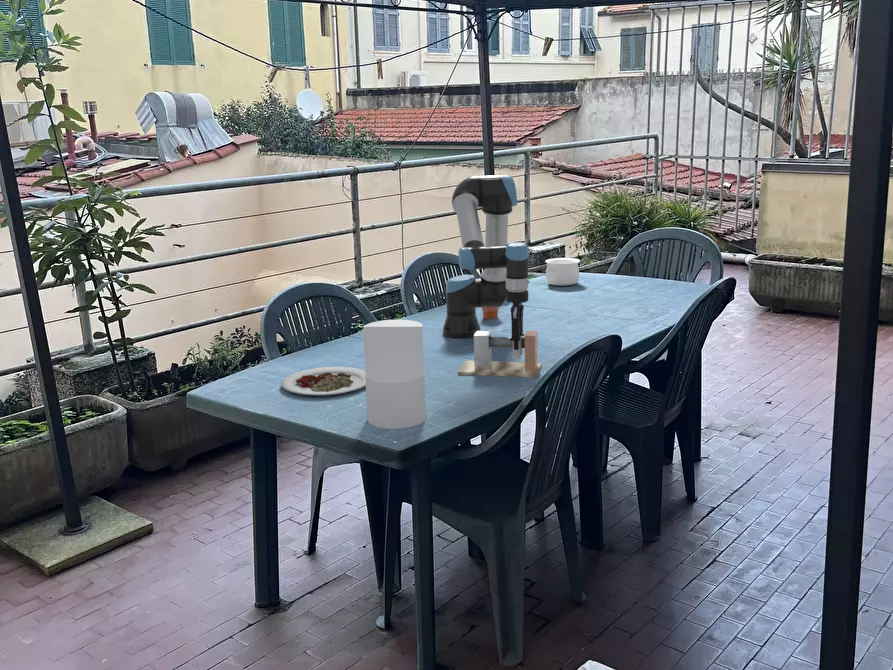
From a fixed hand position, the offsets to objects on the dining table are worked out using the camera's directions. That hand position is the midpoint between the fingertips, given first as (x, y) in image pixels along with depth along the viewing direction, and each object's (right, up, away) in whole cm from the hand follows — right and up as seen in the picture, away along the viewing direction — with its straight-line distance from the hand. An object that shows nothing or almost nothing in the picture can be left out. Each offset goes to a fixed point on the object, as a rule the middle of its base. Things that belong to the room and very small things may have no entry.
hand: (517, 356), depth 299 cm
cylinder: (-39, -17, -42) cm, 60 cm away
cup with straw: (-5, +15, +79) cm, 80 cm away
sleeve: (-12, -5, +4) cm, 13 cm away
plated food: (-64, -10, -8) cm, 65 cm away
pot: (+35, +33, +143) cm, 151 cm away
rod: (-3, +3, 0) cm, 5 cm away
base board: (-6, -5, +3) cm, 8 cm away
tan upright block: (+5, -5, 0) cm, 7 cm away
